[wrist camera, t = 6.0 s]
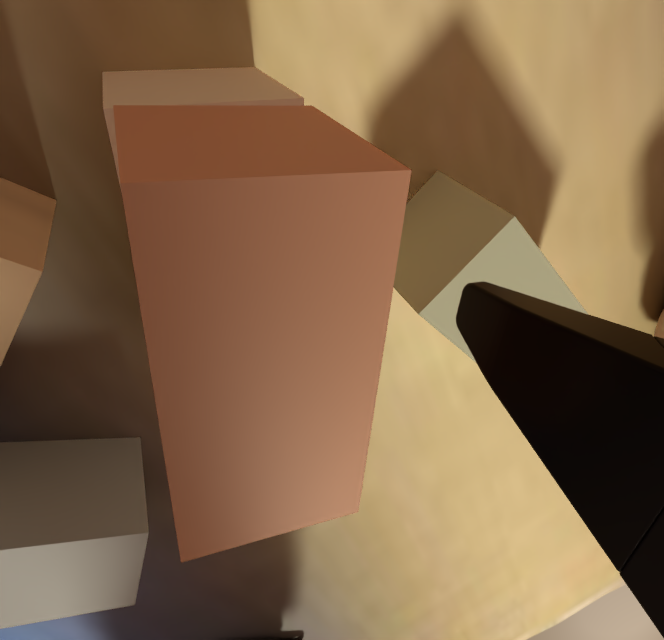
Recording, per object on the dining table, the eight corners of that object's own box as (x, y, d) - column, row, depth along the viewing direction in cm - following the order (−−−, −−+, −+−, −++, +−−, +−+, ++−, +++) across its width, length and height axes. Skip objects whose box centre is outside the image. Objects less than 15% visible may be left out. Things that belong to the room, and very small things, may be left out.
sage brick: (527, 279, 20) (603, 334, 17) (464, 341, 21) (526, 405, 18) (435, 169, 16) (514, 216, 13) (359, 250, 17) (418, 314, 14)
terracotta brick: (299, 387, 13) (357, 512, 10) (160, 413, 12) (181, 562, 9) (312, 105, 10) (411, 170, 7) (113, 105, 8) (120, 183, 5)
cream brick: (268, 305, 16) (306, 382, 13) (155, 324, 15) (169, 413, 12) (254, 66, 13) (303, 97, 9) (102, 71, 12) (103, 107, 8)
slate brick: (140, 434, 18) (148, 532, 15) (129, 503, 19) (134, 605, 16) (-121, 443, 14) (-181, 571, 11) (-109, 524, 16) (-158, 656, 13)
